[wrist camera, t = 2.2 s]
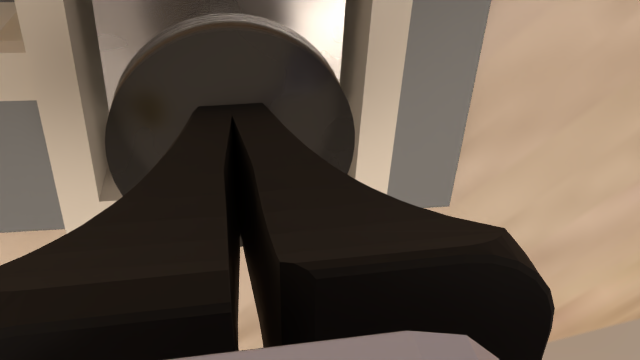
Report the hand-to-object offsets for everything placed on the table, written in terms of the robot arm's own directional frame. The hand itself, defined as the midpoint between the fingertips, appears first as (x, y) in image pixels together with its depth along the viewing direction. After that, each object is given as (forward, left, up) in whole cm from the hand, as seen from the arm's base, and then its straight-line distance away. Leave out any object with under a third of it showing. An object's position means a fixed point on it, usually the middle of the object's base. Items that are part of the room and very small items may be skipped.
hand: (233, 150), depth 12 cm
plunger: (0, 0, -6) cm, 6 cm away
